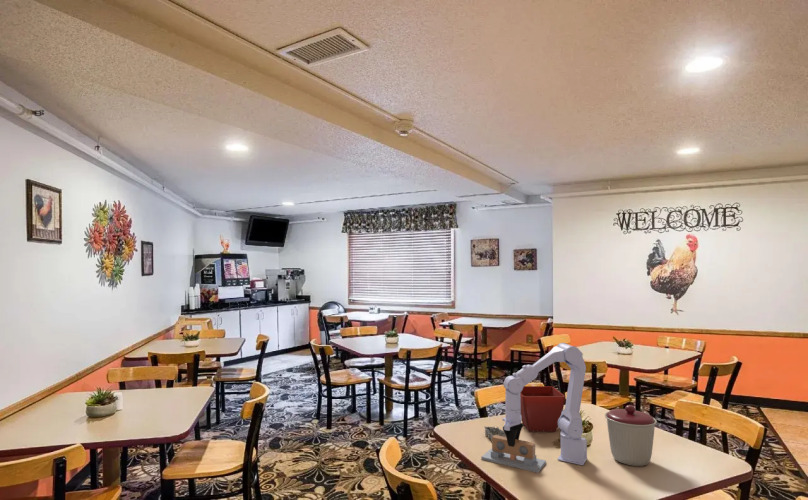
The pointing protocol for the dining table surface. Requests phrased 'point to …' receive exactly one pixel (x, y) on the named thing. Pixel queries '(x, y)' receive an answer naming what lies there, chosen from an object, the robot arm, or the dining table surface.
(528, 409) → the plant pot
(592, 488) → the dining table surface
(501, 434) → the stone castle ruin
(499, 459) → the display stand
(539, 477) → the dining table surface
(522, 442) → the brown bar
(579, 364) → the robot arm
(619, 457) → the canister
